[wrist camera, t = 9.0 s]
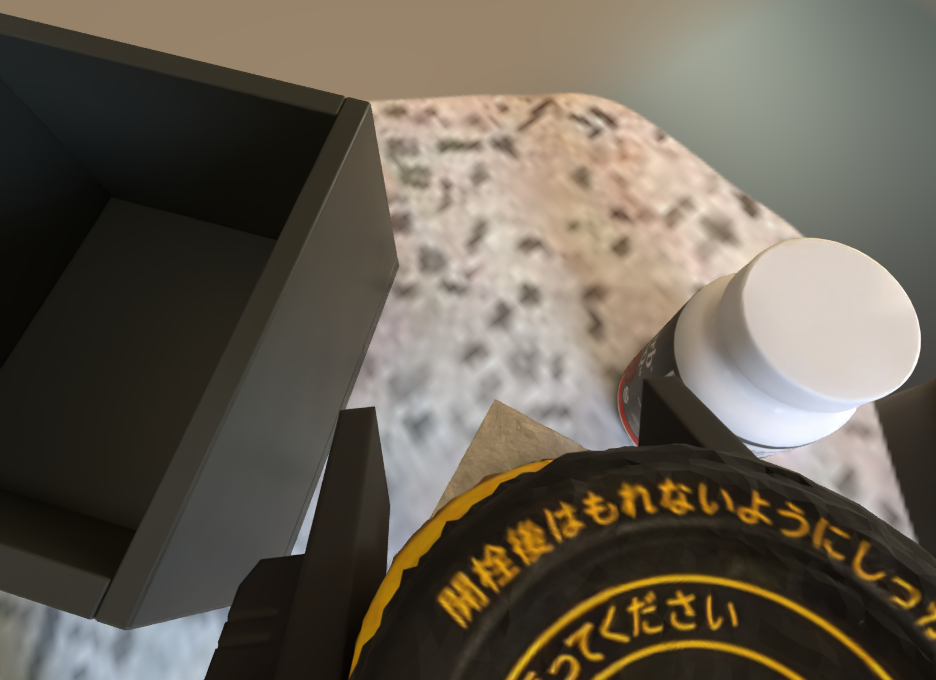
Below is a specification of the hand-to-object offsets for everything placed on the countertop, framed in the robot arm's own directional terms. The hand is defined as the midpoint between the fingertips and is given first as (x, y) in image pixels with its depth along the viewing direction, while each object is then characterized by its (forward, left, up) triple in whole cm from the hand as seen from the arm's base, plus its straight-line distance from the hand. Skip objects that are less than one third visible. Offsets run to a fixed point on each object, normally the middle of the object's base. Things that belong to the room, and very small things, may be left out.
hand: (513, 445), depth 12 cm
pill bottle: (-7, -6, -10) cm, 14 cm away
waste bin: (+14, -2, -10) cm, 17 cm away
